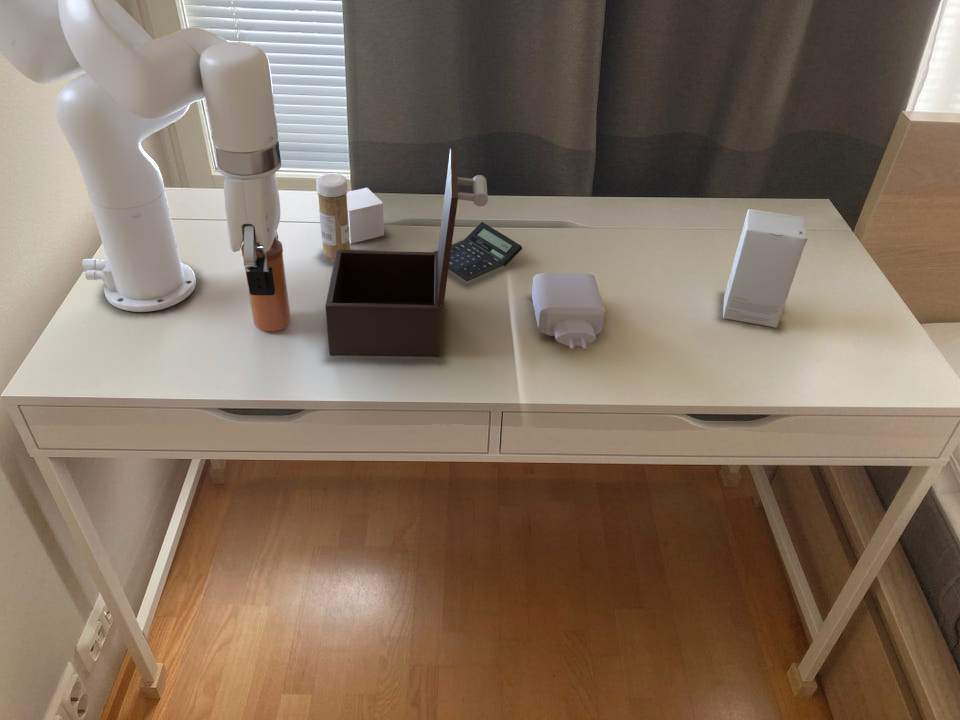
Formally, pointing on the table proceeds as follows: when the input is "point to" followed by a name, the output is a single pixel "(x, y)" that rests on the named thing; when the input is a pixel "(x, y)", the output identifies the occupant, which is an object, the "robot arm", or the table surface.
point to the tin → (272, 308)
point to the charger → (568, 307)
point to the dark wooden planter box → (383, 304)
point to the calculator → (481, 252)
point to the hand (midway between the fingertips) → (266, 280)
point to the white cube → (364, 215)
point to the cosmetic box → (764, 267)
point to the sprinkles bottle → (333, 213)
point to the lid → (454, 216)
